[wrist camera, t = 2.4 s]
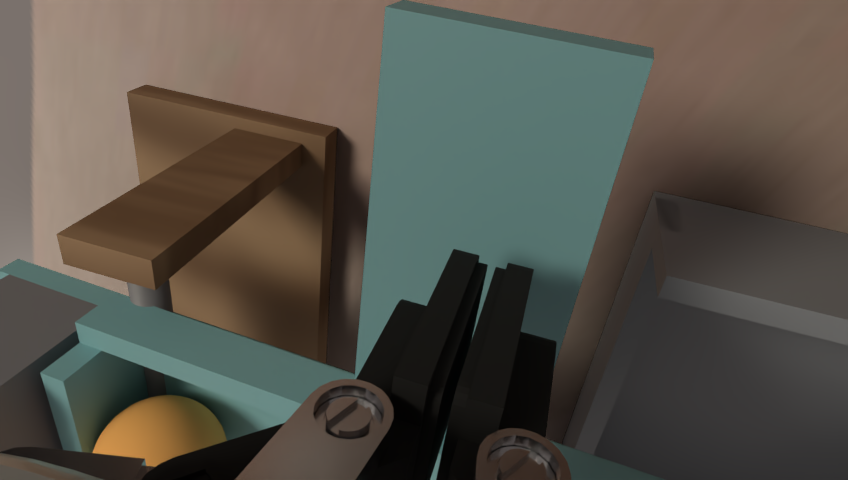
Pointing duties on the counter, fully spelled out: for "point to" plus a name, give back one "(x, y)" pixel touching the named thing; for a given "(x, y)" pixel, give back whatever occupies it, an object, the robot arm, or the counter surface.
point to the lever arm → (385, 241)
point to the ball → (160, 430)
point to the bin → (723, 350)
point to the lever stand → (223, 218)
